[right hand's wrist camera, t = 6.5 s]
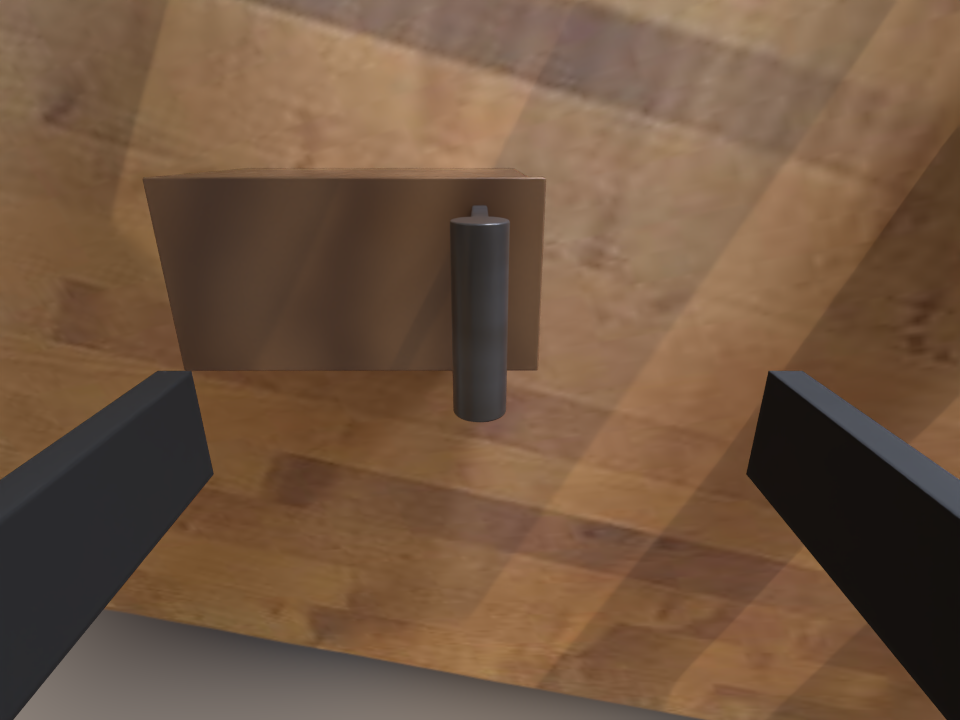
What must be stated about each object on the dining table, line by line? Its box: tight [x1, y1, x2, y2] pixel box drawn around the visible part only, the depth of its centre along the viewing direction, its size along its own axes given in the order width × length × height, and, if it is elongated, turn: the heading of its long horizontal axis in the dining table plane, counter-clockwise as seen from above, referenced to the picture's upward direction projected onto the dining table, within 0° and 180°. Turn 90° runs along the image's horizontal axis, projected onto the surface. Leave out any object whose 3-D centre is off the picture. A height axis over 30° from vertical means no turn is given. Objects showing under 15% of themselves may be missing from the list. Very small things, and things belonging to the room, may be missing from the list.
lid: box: [143, 177, 546, 422], centre depth 23 cm, size 18×9×8 cm, turn 90°
